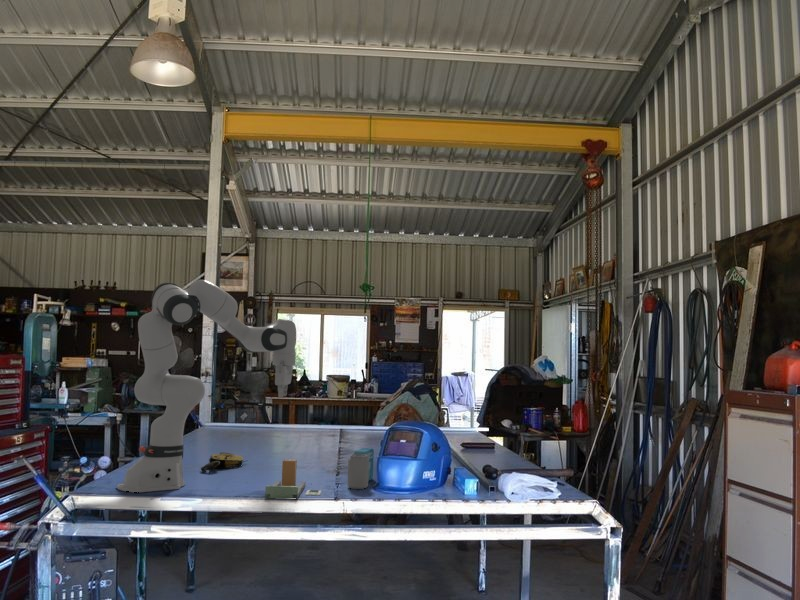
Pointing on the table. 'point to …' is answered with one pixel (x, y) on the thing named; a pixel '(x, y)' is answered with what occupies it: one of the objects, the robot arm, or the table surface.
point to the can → (358, 471)
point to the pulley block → (223, 461)
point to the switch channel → (287, 491)
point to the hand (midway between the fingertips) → (282, 396)
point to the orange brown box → (289, 472)
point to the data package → (370, 455)
